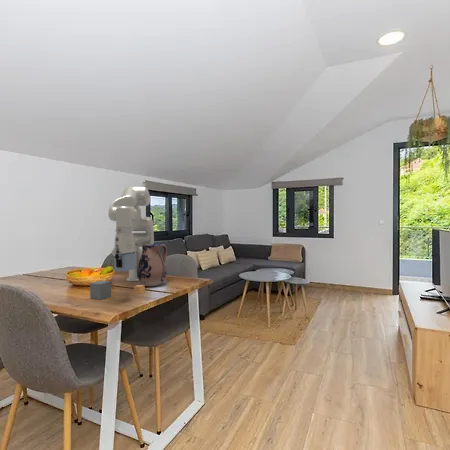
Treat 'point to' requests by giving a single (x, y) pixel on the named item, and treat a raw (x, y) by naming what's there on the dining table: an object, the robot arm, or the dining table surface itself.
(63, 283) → the dining table surface
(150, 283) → the ceramic pitcher
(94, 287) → the dark grey block
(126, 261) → the blue-gray block
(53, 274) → the dining table surface
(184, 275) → the dining table surface
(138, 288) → the letter block
